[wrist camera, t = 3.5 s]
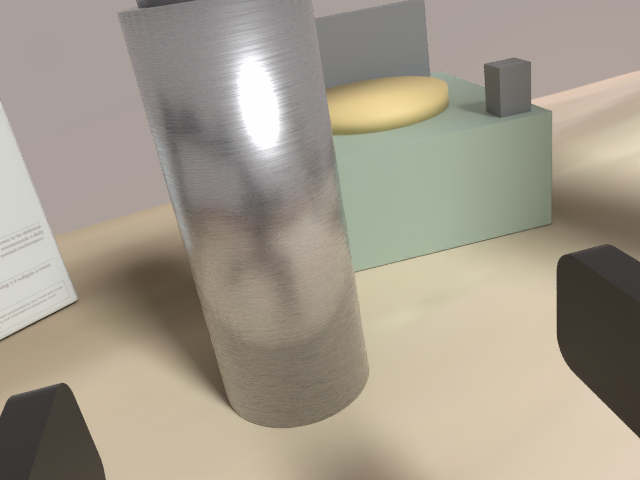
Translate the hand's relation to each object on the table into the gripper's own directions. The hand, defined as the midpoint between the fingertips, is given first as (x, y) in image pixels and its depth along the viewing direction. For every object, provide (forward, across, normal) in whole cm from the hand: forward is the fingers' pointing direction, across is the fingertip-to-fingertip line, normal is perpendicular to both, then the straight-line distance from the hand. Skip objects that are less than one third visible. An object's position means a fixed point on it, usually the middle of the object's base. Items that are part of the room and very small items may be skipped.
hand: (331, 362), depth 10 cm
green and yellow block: (+25, -8, +8) cm, 28 cm away
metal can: (+11, 0, +9) cm, 14 cm away
